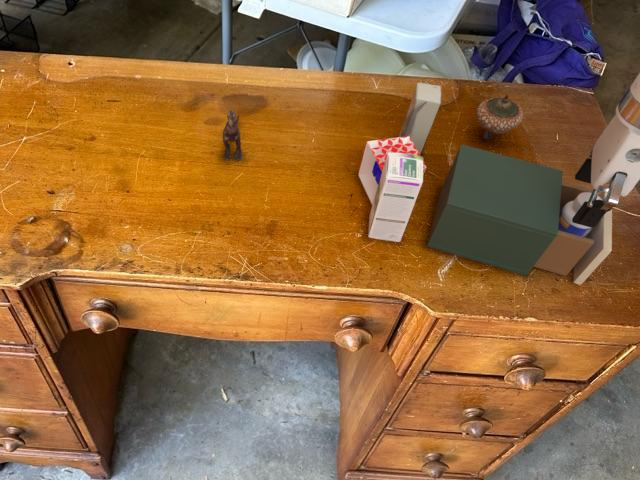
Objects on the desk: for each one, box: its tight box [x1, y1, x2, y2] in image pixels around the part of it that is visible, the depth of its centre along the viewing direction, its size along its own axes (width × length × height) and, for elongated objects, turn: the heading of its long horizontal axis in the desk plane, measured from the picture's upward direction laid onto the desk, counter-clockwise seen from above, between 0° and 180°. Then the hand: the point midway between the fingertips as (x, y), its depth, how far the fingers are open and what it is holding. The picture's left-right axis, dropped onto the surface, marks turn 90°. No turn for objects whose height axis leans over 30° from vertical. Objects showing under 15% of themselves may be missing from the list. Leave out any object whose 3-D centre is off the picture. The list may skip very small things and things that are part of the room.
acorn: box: [476, 94, 524, 139], centre depth 109 cm, size 8×8×10 cm
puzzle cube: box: [357, 136, 427, 205], centre depth 101 cm, size 8×8×8 cm
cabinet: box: [426, 144, 564, 277], centre depth 95 cm, size 17×15×11 cm
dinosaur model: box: [222, 110, 243, 161], centre depth 105 cm, size 4×12×15 cm
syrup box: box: [367, 152, 424, 243], centre depth 93 cm, size 6×6×14 cm
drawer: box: [533, 181, 613, 286], centre depth 93 cm, size 17×13×9 cm
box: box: [398, 82, 442, 155], centre depth 105 cm, size 5×4×13 cm
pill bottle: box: [558, 192, 602, 237], centre depth 92 cm, size 5×5×10 cm
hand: (583, 201), depth 88 cm, fingers open, 9 cm apart
